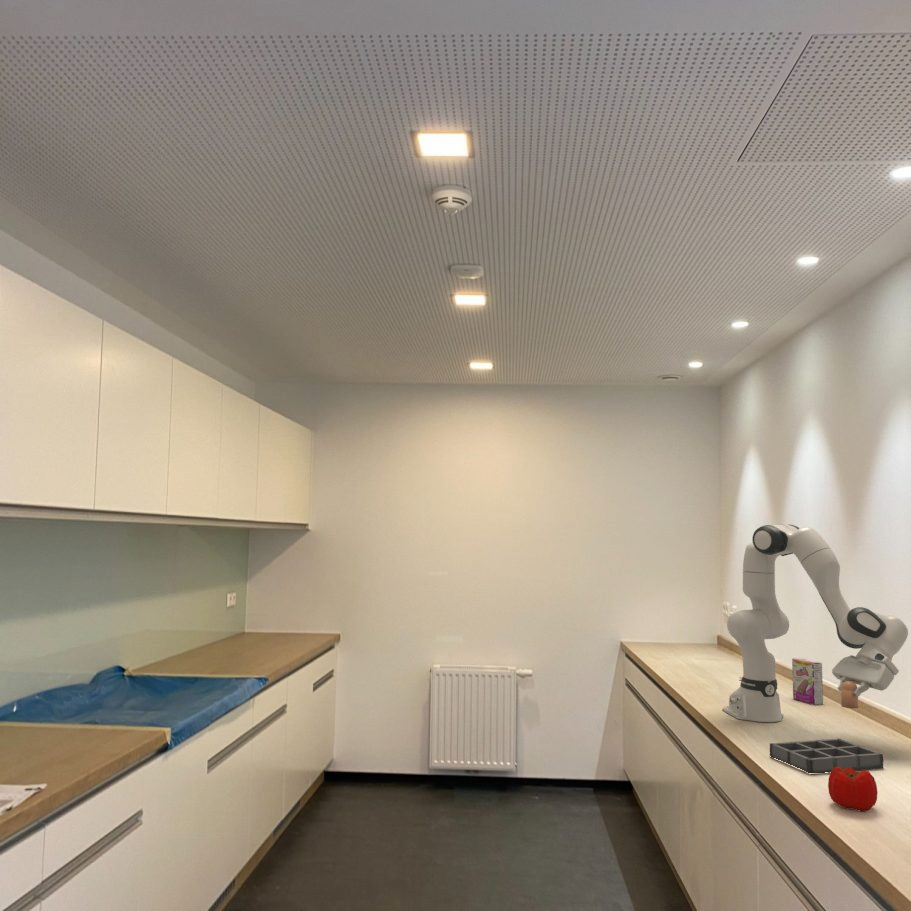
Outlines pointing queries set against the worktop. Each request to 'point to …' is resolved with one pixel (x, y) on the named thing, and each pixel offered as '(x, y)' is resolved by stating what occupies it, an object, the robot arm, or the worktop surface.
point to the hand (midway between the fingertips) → (847, 692)
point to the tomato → (852, 788)
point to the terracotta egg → (848, 695)
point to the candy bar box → (807, 681)
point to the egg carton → (826, 755)
